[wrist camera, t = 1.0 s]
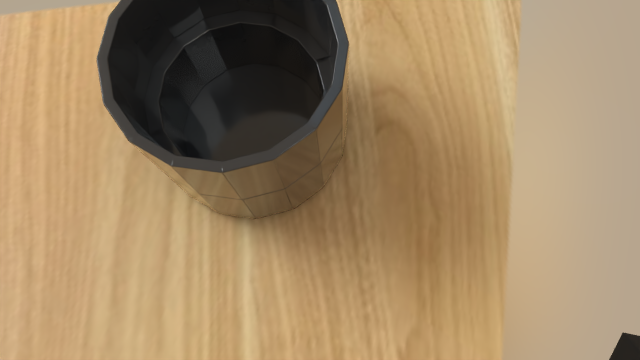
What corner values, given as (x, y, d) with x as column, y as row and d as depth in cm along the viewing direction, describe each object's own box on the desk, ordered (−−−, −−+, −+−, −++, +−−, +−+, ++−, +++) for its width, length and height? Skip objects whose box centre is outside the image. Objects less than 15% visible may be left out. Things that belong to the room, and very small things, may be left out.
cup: (320, 34, 35) (313, -78, 26) (366, 193, 32) (376, 134, 23) (154, 74, 35) (83, -24, 25) (184, 239, 32) (117, 199, 22)
